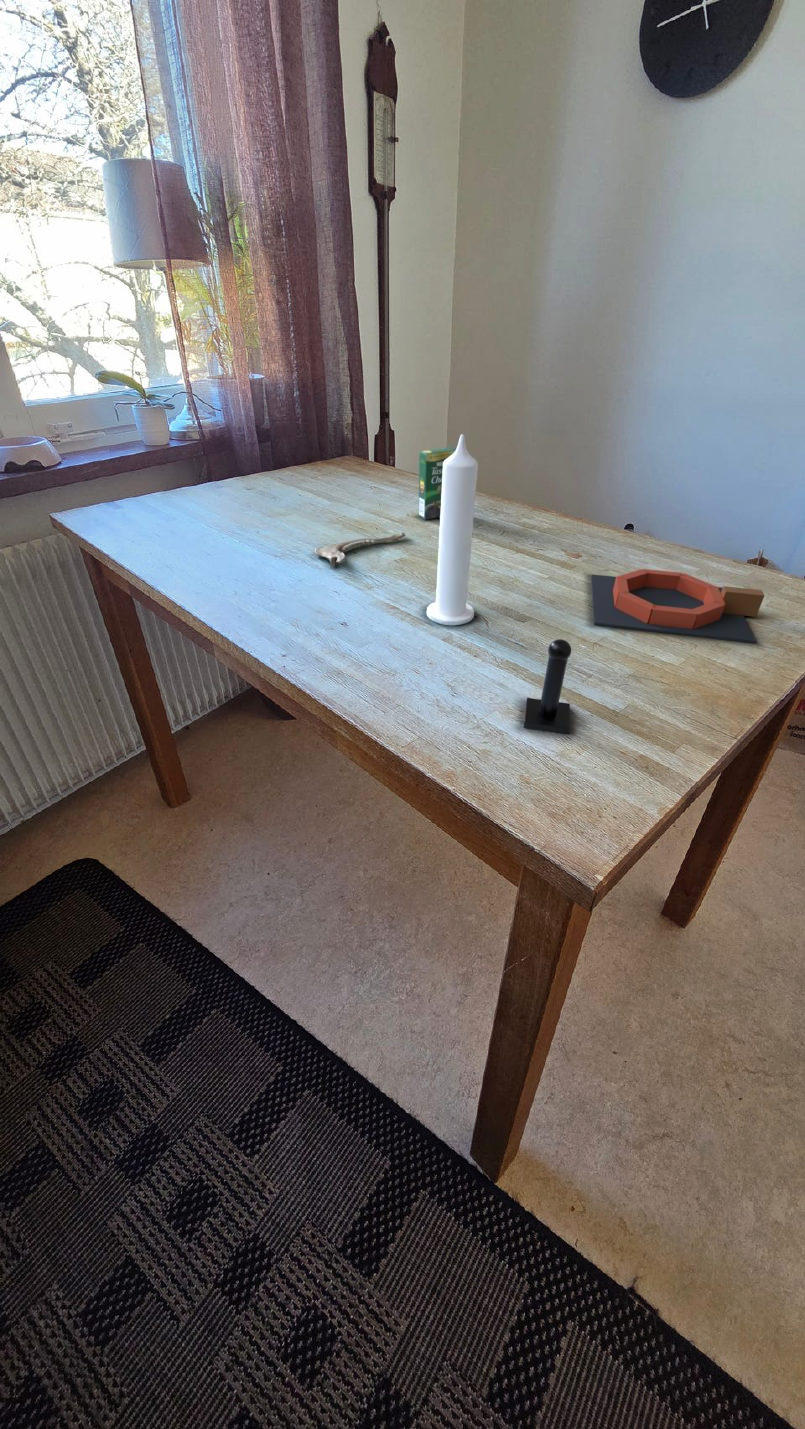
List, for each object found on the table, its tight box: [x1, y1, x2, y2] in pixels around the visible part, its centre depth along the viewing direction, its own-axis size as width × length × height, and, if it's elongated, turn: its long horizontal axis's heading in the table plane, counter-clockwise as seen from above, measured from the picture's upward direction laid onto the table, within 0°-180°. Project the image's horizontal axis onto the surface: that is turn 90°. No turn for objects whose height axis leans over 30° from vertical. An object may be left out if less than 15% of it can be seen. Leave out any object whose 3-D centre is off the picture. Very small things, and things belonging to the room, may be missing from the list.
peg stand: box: [523, 638, 572, 735], centre depth 66 cm, size 5×5×10 cm
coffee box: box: [417, 446, 457, 521], centre depth 123 cm, size 8×3×13 cm, turn 118°
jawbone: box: [313, 532, 406, 568], centre depth 110 cm, size 9×20×2 cm, turn 147°
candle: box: [426, 433, 479, 626], centre depth 83 cm, size 7×7×25 cm
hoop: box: [613, 568, 766, 629], centre depth 92 cm, size 21×15×4 cm
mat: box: [590, 574, 757, 644], centre depth 93 cm, size 22×18×1 cm
